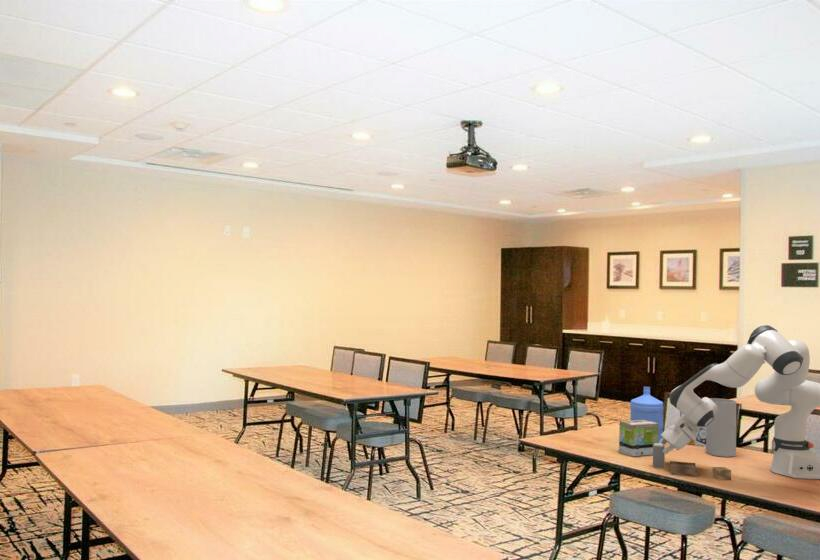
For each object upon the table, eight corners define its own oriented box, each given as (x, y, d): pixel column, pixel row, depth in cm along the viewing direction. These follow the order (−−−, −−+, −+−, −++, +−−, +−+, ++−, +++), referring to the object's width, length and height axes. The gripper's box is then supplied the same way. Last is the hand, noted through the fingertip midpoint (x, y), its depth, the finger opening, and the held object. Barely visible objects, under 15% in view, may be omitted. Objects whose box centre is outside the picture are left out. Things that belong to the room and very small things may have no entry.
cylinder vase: (700, 452, 306) (700, 399, 306) (718, 450, 311) (719, 397, 312) (723, 458, 295) (723, 403, 295) (742, 456, 300) (742, 401, 300)
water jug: (660, 448, 313) (660, 390, 313) (626, 444, 321) (627, 387, 321) (665, 442, 326) (666, 386, 327) (633, 438, 334) (633, 384, 335)
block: (724, 476, 264) (724, 467, 264) (731, 480, 259) (731, 470, 259) (712, 476, 264) (712, 467, 264) (719, 480, 259) (719, 470, 259)
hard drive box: (679, 443, 324) (679, 403, 324) (680, 440, 330) (680, 401, 331) (713, 447, 316) (713, 406, 317) (714, 444, 323) (714, 404, 324)
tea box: (633, 457, 294) (634, 424, 295) (618, 452, 303) (618, 420, 304) (658, 454, 300) (659, 422, 301) (642, 449, 309) (643, 418, 310)
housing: (663, 465, 280) (663, 443, 280) (664, 468, 276) (664, 445, 276) (652, 464, 281) (652, 442, 282) (653, 467, 277) (653, 444, 278)
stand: (695, 471, 271) (695, 463, 271) (697, 476, 263) (697, 467, 263) (669, 469, 274) (669, 461, 274) (671, 474, 266) (671, 465, 266)
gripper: (672, 418, 288) (649, 439, 289) (686, 427, 268) (661, 449, 269) (682, 428, 287) (659, 450, 288) (697, 438, 267) (672, 461, 268)
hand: (660, 450), depth 278 cm, fingers open, 8 cm apart
